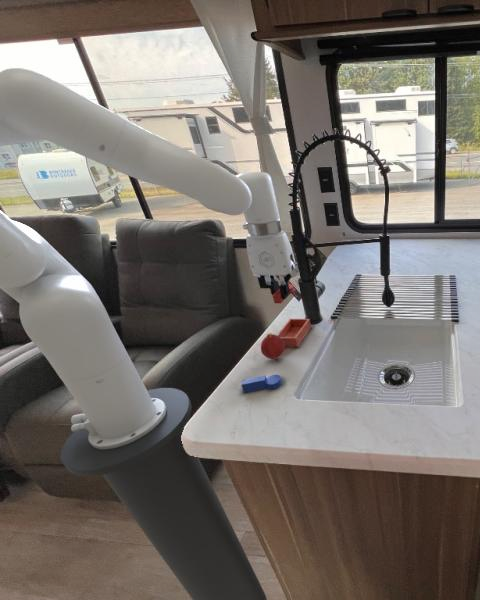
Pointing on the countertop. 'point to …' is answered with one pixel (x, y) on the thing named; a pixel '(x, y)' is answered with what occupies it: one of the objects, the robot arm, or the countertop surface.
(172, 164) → the robot arm
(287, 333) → the red tub
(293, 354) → the countertop surface
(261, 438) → the countertop surface
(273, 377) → the blue spoon
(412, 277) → the countertop surface
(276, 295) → the red spoon
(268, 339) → the onion
